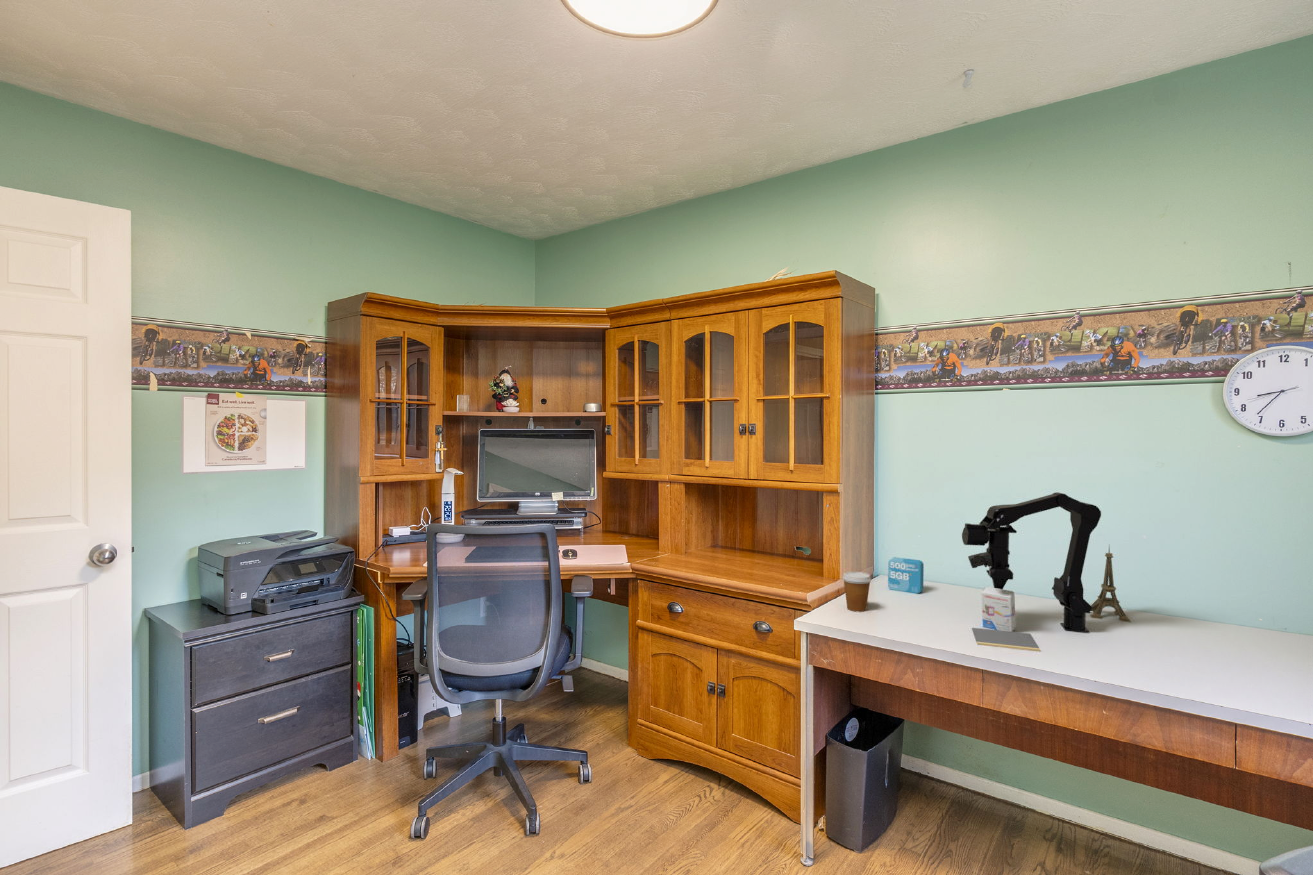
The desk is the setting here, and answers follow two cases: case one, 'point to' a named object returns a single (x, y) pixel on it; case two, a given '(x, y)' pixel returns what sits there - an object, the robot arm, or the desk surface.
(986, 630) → the mat
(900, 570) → the data package
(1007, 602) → the ink box
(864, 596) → the disposable coffee cup
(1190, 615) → the desk surface
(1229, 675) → the desk surface
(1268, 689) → the desk surface
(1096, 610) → the eiffel tower
